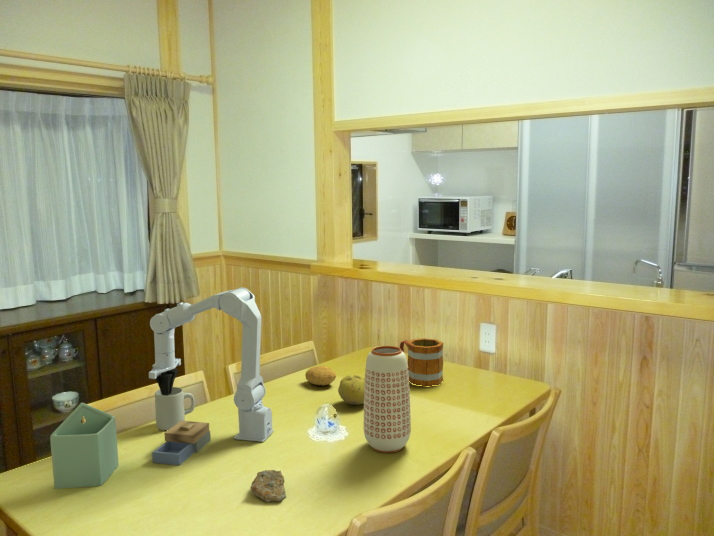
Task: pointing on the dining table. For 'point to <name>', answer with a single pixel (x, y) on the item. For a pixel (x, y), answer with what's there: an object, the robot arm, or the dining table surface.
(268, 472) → the rock
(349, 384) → the fruit
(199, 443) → the stand
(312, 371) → the potato
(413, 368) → the mug
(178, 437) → the lid
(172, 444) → the blue open tray
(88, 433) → the planter
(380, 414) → the vase
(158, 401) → the mug
